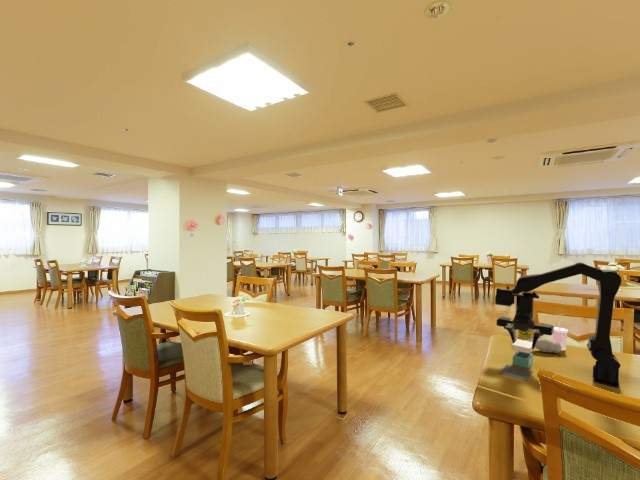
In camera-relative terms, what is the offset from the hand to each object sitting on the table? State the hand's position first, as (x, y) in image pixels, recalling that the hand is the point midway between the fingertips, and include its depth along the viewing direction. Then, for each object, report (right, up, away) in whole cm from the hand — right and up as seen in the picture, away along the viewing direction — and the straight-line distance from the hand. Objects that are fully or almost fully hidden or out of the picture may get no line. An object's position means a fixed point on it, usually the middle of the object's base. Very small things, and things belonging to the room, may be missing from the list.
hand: (523, 346), depth 130 cm
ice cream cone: (+17, -7, +14) cm, 23 cm away
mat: (-8, -8, -8) cm, 13 cm away
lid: (0, -1, 0) cm, 1 cm away
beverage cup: (+28, -7, +18) cm, 34 cm away
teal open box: (0, -7, 0) cm, 7 cm away
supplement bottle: (+18, -7, +27) cm, 33 cm away
